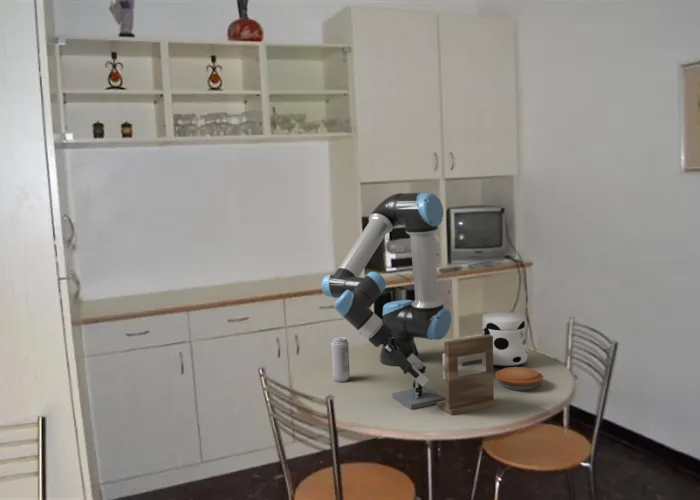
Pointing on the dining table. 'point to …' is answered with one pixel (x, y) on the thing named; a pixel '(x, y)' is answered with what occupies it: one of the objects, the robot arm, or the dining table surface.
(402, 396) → the mat
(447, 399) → the mounted unit
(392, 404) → the dining table surface
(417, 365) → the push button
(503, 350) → the milk container
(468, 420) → the dining table surface
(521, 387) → the pie
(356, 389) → the dining table surface
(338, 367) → the energy drink can
